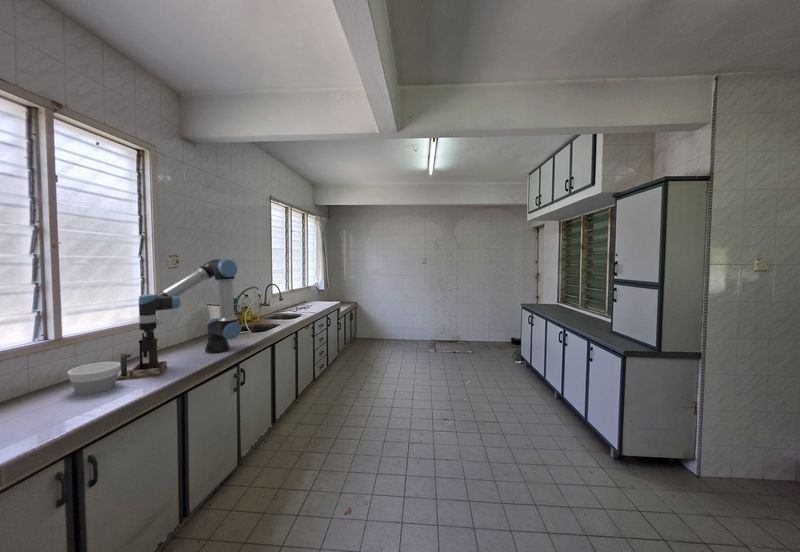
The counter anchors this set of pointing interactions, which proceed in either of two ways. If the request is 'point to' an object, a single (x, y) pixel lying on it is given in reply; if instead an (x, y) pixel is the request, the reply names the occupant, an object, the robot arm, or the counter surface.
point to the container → (150, 355)
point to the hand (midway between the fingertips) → (148, 359)
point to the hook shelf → (136, 371)
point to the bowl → (94, 377)
